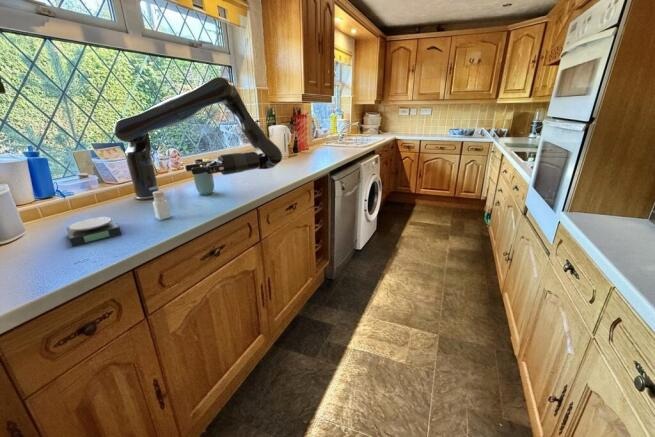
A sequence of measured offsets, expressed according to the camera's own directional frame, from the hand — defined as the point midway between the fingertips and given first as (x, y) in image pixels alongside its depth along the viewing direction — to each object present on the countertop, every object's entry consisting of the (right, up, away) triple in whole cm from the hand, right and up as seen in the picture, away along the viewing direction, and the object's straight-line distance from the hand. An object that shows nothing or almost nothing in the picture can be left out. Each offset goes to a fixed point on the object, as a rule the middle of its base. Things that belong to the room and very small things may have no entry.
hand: (188, 169), depth 107 cm
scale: (-23, -22, -13) cm, 35 cm away
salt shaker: (-8, -17, -1) cm, 19 cm away
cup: (-5, -6, +29) cm, 30 cm away
